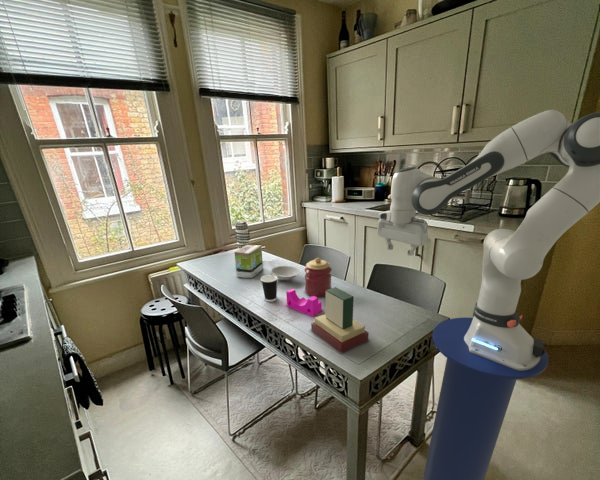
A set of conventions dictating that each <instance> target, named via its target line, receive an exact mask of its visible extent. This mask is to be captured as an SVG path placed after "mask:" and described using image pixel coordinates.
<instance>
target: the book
mask: <svg viewBox="0 0 600 480" xmlns="http://www.w3.org/2000/svg"><path fill="white" fill-rule="evenodd" d="M354 298H355V297H354V295H352V294H350V293H348V292H346V291H344V290H343V289H340V288H338V287H336V286H335V287H331V289H328V290H326V296H325V314H326V319H328V320H329V321H331V322H332V323H334V324H335V325H337V326H338V327H340V328H342V329H346V328H348V327H351V326H353V319H354V301H355V300H354Z"/></svg>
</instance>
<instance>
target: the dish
mask: <svg viewBox="0 0 600 480" xmlns="http://www.w3.org/2000/svg"><path fill="white" fill-rule="evenodd" d="M270 273H271V275H275V276H277V277H278V279H277V280H282V281H291V280H293V279H295V278H296V277H297V276H298V275H300V273H301V272H300V269H298V268H297V267H295V266H292V265H277V266H274V267H272V268H271V269H270Z"/></svg>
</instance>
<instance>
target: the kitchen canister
mask: <svg viewBox="0 0 600 480" xmlns="http://www.w3.org/2000/svg"><path fill="white" fill-rule="evenodd" d="M304 272H305V274H304V283H305V284H304V291H305V293H306V294H307V295H308V296H310V297H312V296H315V297H318V298H321V297H326V290H328V289H331V288H332V274H331V272H332V267H331V264H330V263H329V262H328V261H326V260H325V259H321V258H320V257H316V258H315V259H312V260H310V261H308V262H307V263H306V264H305V268H304Z"/></svg>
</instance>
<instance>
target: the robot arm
mask: <svg viewBox="0 0 600 480" xmlns="http://www.w3.org/2000/svg"><path fill="white" fill-rule="evenodd" d="M547 153H549V155H550V156H552V157H553V158H554V159H555V160H556V161H557V162H559V163H560V164H561V165H563V166H564V167H567V168H568V171H567V172H566V173H565V175H564V176H563V177H562V178H561V179H560V180H559V181H558V182H557V183H556V184H554V185H553V186H552V187H551V188H550V189H549V190H548V191H547V192H545V194H543V196H542V197H541V198H540V199H538V200H537V201H536V202H535V203H533V205H532V206H531V207H530V208H528V210H527V211H526V214H525V217H524V219H523V220H522V222H521V223H520V224H519V226H518V228H517V229H515V230H513V229H509V228H496V229H493V230H492V231H490V232H488V233H487V234H486V236H485V237H484V240H483V244H482V245H483V253H482V254H483V256H482V268H481V283H480V289H479V293H478V298H477V302H476V303H475V304H474V307H473V313H472V318H473V320H472V323H471V325H470V327H469V330H468V331H467V333H466V334H465V336H464V341H465V343H466V344H467V345H468V347H469V351H470V352H471V353H474V354H476V355H479V356H482V357H484V358H487V359H489V360H492V361H495V362H497V363H500V364H502V365H505V366H507V367H510V368H513V369H515V370H518V371H524V370H529V369H531V368H533V367H535V366H536V365H537V364H538V363H539V361H540V357H541V356H542V355H544V353H545V351H546V349H545V348H544V340H543V339H539V338H535V337H534V338H533V337H532V336H531V334H530V333H528V332H527V330H526V329H525V328H524V327H523V326H522V325H521V324H520V321H521V320H522V319H523V314H521V315H520V316H519V314H518V313H517V307H518V303H519V299H520V296H521V292H522V285H521V281H522V280H523V281H524V280H528V279H531V278H533V277H535V276H536V275H537V274H538V273H539V272H540V271H541V269H542V267H543V265H544V260H545V258H546V256H547V255H548V253H549V252H550V251H551V249H552V247H553V246H554V245H555V243H557V242H558V240H559V239H560V238H561V236H562V235H564V234H565V233H566V232H567V231H568V230H570V228H572V227H573V226H574V225H575V224H576V223H577V222H579V220H581V219H583V217H585V216H586V215H587V214H589V212H591V210H593V209H594V208H595V207H596V206H597V205H598V204H599V203H600V111H598V112H592V113H589V114H587V115H584V116H582V117H580V118H578V119H577V120H575V121H574V122H569V120H567V119H566V117H565V116H564V114H563V113H562V112H561V111H558V110H556V109H547V110H544V111H541V112H539V113H536V114H534V115H532V116H529V117H527V118H526V119H523V120H521V121H520V122H519V121H518V122H517V123H516V124H514V125H512V126H510V127H508V128H507V129H505V130H504V131H502V132H501V133H499V134H497V135H496V136H495V137H493V138H492V139H491V140H490V141H488V142H487V144H485V146H484V147H483V149H481V151H480V153H479V154H478V155H477V156H476V157H475V158H474V159H473V160H472V161H470V162H468V164H466V165H464V166H463V167H461V168H459V169H458V170H456V171H454V172H452V173H451V174H449V175H447V176H445V177H443V178H441V177H438V176H434V175H431V174H428V173H426V172H424V171H422V170H420V169H419V168H418V167H417V166H408V167H405V168H404V167H403V168H401V169H397V171H395V173H394V174H393V176H392V178H391V179H392V180H391V187H390V199H391V201H390V206H389V209H388V210H385V211H382V212H380V213H378V221H377V227H376V229H377V231H376V232H377V236H378V237H379V238H384V241H385V244H386V246H387V247H386V248H387V249H386V250H389V251H391V250H393V249H394V244H392V241H396V242H400V243H404V244H407V245H410V249H409V250H407V256H409V257H412V256H414V255H415V251H416V250H417V248H418V247H420V248H421V247H423V246H425V245H426V244H428V240H429V237H428V236H429V235H428V234H429V233H428V228H429V223H428V222H427V221H426V220H425V219H423V218H418V217H416V214H417V213H418V214H421V215H424V216H431V215H435V214H437V213H439V212H440V211H441V210H443V208H444V207H445V206H446V205H447V203H449V202H450V200H452V199H453V198H455V197H456V196H458V195H460V194H461V193H463V192H465V191H466V190H468V189H470V188H472V187H474V186H476V185H478V184H480V183H481V182H483V181H485V180H487V179H490V178H492V177H494V176H497V175H499V174H502V173H505V172H507V171H510V170H513V169H515V168H516V167H519V166H521V165H524V164H525V163H527V162H529V161H531V160H533V159H534V158H537V157H539V156H542V155H543V154H547ZM533 339H534V340H533ZM544 349H545V350H544Z"/></svg>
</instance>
